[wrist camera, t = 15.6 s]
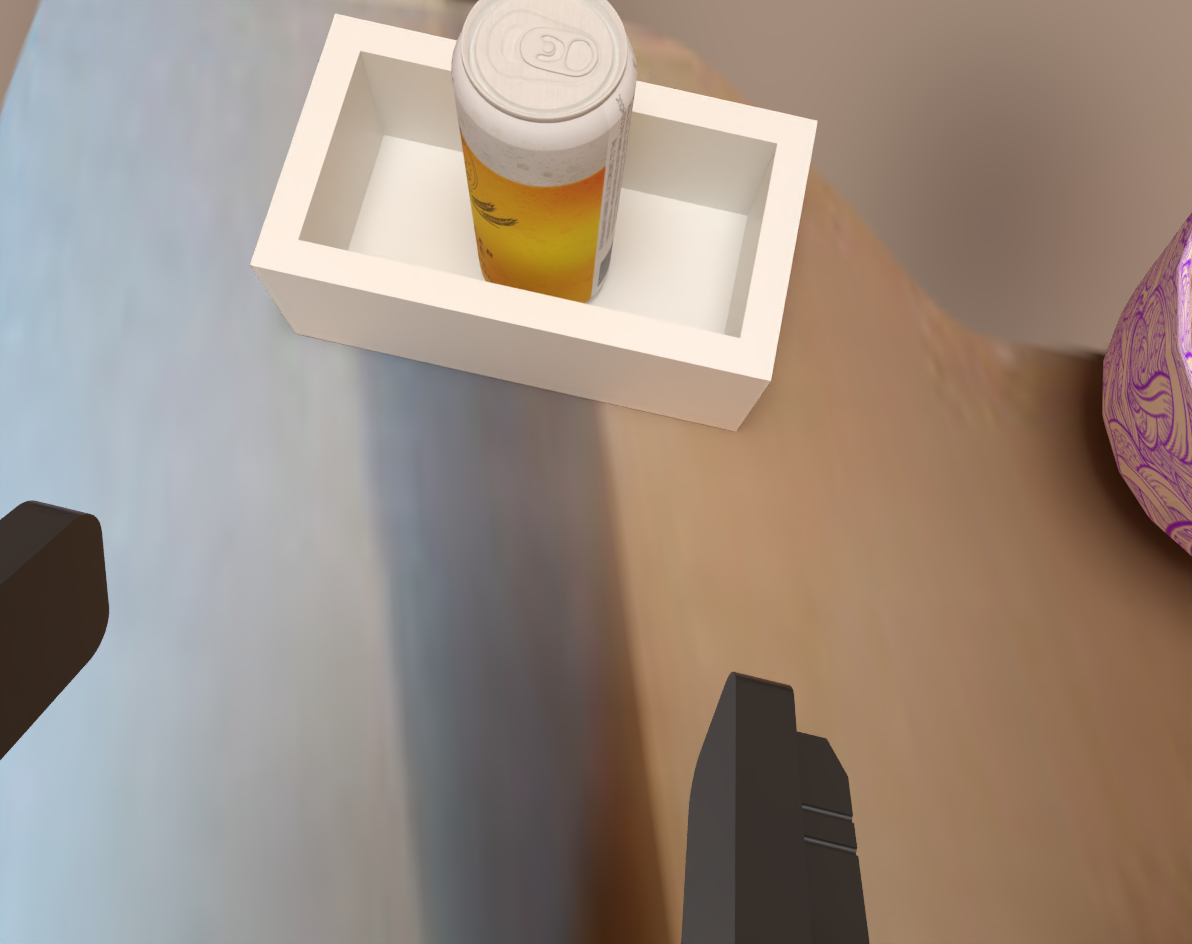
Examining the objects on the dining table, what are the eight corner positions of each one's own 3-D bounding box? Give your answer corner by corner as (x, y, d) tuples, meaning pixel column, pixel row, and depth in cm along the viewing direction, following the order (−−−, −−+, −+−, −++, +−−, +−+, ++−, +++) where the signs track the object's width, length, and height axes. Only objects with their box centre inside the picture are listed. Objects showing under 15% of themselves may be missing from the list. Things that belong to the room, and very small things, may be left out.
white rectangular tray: (778, 206, 47) (817, 120, 40) (735, 431, 44) (770, 381, 37) (365, 114, 47) (335, 13, 40) (295, 333, 44) (250, 265, 37)
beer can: (497, 192, 45) (474, -54, 30) (621, 219, 45) (657, -14, 30) (465, 306, 43) (426, 105, 29) (594, 334, 43) (618, 147, 29)
